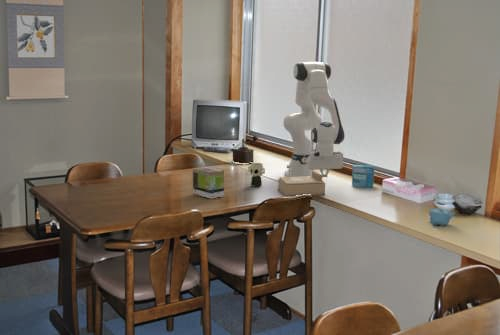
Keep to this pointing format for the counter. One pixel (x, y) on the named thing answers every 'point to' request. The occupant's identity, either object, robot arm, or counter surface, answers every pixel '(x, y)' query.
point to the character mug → (256, 173)
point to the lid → (303, 179)
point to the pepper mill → (244, 152)
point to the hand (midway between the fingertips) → (324, 176)
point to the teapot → (440, 217)
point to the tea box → (208, 182)
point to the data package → (363, 176)
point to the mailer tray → (301, 188)
